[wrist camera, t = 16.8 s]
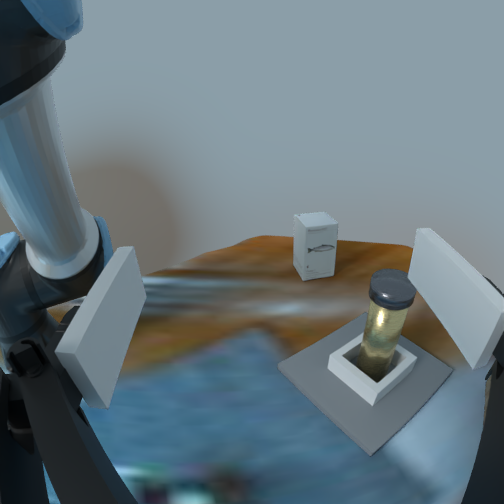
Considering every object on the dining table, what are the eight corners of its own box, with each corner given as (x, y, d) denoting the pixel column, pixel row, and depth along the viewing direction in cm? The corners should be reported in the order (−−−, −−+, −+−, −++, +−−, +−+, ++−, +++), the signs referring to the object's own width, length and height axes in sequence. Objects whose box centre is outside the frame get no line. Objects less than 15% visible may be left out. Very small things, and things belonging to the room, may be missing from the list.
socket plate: (277, 368, 45) (277, 350, 43) (365, 316, 54) (368, 298, 52) (370, 456, 30) (379, 442, 28) (451, 373, 39) (459, 356, 37)
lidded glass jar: (344, 369, 42) (361, 279, 35) (369, 351, 45) (389, 264, 38) (372, 392, 38) (400, 302, 31) (396, 371, 41) (425, 283, 33)
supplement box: (302, 282, 66) (304, 227, 60) (292, 265, 72) (293, 213, 66) (334, 276, 67) (339, 223, 61) (322, 260, 73) (325, 210, 67)
